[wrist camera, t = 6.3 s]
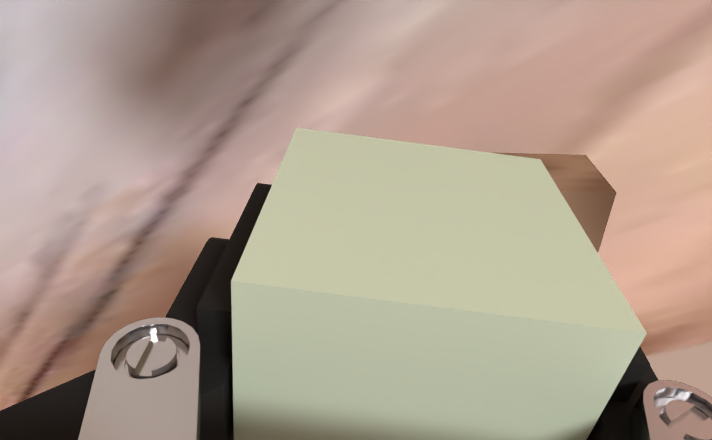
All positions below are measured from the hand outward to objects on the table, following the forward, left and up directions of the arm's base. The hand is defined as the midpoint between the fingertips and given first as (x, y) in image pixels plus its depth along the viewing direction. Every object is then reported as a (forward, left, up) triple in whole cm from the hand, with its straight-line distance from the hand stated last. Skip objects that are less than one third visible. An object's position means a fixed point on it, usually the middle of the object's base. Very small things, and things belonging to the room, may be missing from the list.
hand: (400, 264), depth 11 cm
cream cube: (0, 0, -1) cm, 1 cm away
